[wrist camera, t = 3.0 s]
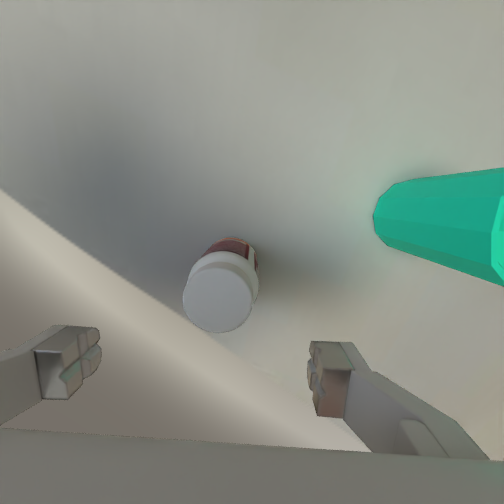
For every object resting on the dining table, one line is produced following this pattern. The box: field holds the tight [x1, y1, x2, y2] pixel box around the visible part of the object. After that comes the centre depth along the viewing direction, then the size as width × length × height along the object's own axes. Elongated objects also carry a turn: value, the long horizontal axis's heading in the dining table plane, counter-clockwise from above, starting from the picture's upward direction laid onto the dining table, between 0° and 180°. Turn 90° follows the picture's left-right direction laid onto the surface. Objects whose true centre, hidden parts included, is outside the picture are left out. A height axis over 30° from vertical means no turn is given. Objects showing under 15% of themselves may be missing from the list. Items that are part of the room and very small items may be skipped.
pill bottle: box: [183, 238, 259, 333], centre depth 17 cm, size 5×5×8 cm
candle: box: [373, 168, 504, 286], centre depth 14 cm, size 6×6×12 cm
